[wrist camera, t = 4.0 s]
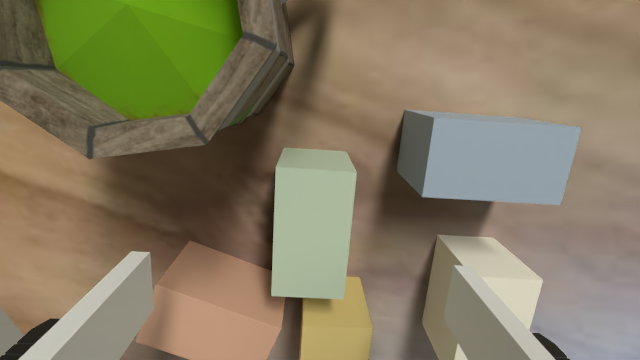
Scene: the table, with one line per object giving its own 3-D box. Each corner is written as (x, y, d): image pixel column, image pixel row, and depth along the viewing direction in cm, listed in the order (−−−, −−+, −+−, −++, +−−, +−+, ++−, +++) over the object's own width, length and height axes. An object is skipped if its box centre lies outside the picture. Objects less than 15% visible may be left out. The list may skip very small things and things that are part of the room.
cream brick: (437, 234, 26) (472, 276, 21) (492, 237, 26) (543, 279, 21) (421, 322, 28) (449, 383, 23) (473, 324, 29) (513, 385, 23)
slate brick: (396, 170, 25) (422, 196, 19) (404, 109, 24) (434, 117, 18) (503, 177, 25) (560, 204, 19) (516, 117, 24) (581, 127, 18)
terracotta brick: (172, 286, 27) (135, 341, 21) (190, 239, 26) (155, 284, 20) (267, 320, 28) (255, 381, 22) (287, 276, 27) (281, 328, 21)
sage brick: (284, 147, 24) (275, 167, 18) (345, 151, 24) (356, 171, 19) (280, 249, 26) (271, 296, 21) (336, 252, 27) (343, 299, 21)
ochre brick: (304, 273, 27) (302, 325, 21) (359, 276, 27) (372, 328, 21) (298, 357, 29) (295, 424, 23) (350, 359, 29) (359, 426, 24)
